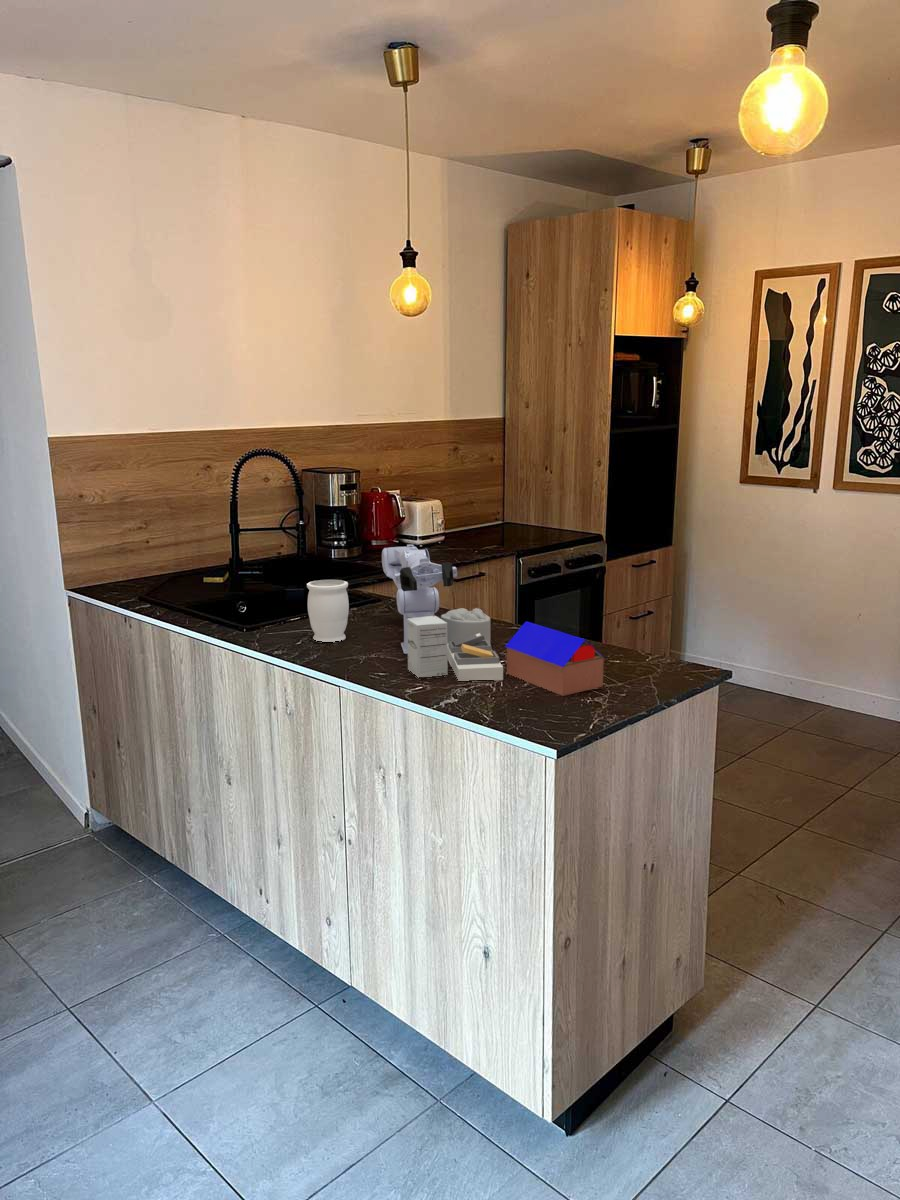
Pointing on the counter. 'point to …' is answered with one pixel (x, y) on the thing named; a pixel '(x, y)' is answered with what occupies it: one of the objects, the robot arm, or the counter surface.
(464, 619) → the lumpy-topped squat cylinder
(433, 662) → the supplement box
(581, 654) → the house
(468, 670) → the cream switch panel
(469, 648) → the amber rocker
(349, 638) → the counter surface
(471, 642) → the charcoal rocker
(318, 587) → the jar
